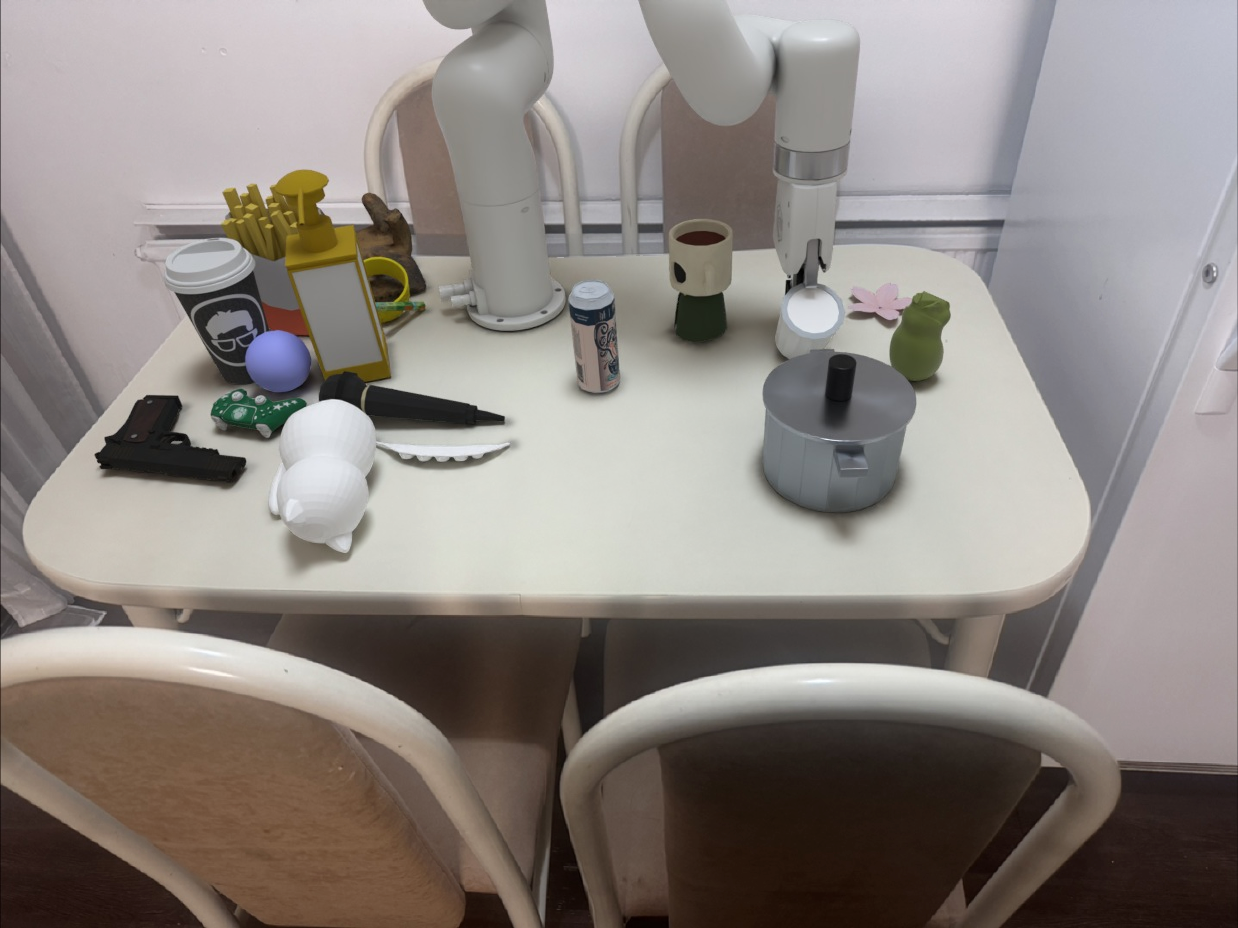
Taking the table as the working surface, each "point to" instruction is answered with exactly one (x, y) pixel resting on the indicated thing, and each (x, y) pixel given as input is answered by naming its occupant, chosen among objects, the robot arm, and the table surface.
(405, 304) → the pencil
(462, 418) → the microphone
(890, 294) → the flower
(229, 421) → the gaming controller
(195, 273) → the coffee cup
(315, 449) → the cat figurine
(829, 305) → the white short cylinder
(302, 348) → the sphere
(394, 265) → the bracelet
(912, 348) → the pear
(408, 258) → the figurine
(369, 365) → the soap bottle
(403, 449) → the pea pod
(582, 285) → the beer can
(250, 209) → the french fries container
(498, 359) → the table surface
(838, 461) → the pot
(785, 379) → the pot lid
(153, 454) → the pistol
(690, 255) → the character mug
